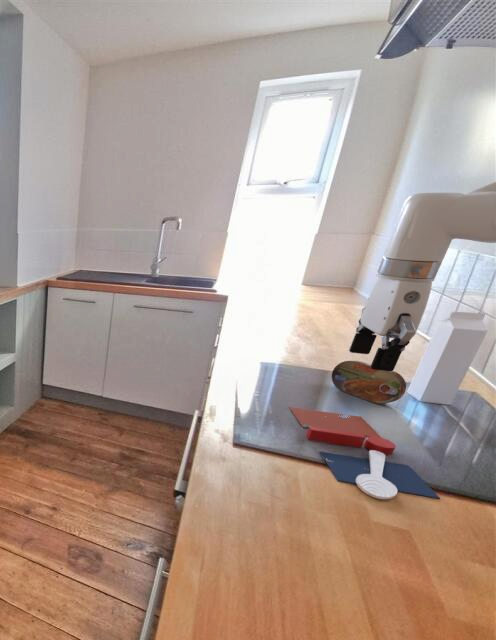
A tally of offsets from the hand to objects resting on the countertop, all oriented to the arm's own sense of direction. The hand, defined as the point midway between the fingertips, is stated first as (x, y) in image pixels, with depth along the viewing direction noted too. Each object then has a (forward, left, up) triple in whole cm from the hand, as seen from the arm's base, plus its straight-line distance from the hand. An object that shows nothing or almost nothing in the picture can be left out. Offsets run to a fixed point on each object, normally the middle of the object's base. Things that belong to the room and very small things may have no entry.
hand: (369, 360), depth 79 cm
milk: (-28, -31, -18) cm, 46 cm away
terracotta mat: (-1, -8, -17) cm, 19 cm away
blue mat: (-1, +12, -17) cm, 21 cm away
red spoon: (-1, +2, -17) cm, 18 cm away
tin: (-13, -27, -18) cm, 35 cm away
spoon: (-1, +13, -17) cm, 22 cm away
